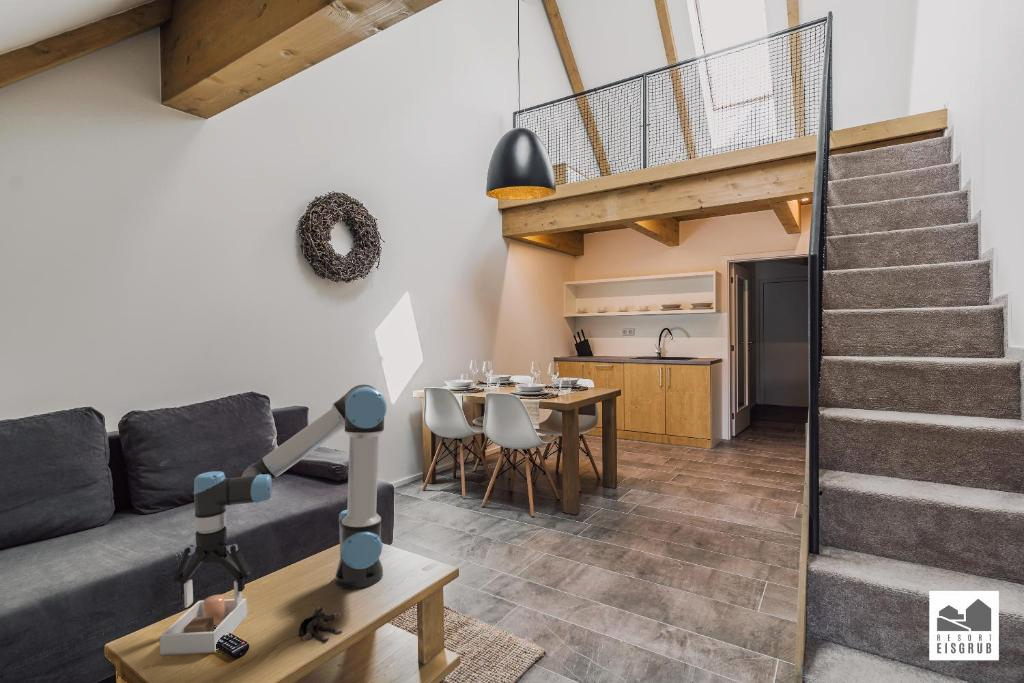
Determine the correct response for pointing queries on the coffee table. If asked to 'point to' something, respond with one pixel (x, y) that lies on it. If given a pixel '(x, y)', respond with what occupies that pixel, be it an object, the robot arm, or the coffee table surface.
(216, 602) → the round-ended peach cylinder
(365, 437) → the robot arm
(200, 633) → the tote
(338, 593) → the coffee table surface
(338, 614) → the dark brown branched piece
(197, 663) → the coffee table surface
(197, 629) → the walnut cube
